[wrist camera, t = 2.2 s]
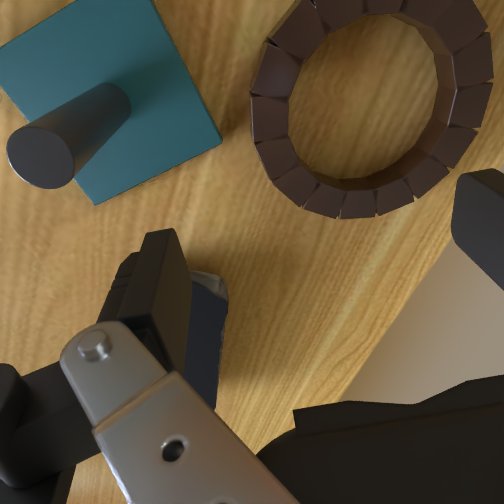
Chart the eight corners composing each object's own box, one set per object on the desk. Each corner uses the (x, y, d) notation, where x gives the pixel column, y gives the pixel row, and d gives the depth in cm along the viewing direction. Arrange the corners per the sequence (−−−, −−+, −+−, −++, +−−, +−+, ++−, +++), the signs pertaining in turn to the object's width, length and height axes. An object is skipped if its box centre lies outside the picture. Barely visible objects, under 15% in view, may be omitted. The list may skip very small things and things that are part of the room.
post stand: (135, -33, 19) (55, -77, 10) (222, 138, 25) (222, 212, 15) (-12, 58, 21) (-192, 91, 12) (99, 200, 26) (31, 299, 17)
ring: (455, -91, 19) (480, -102, 17) (482, 154, 26) (501, 165, 25) (209, 44, 22) (207, 47, 20) (297, 234, 29) (301, 248, 27)
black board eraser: (216, 390, 39) (215, 422, 36) (133, 388, 38) (125, 421, 35) (231, 262, 30) (232, 290, 27) (125, 255, 29) (113, 283, 26)
